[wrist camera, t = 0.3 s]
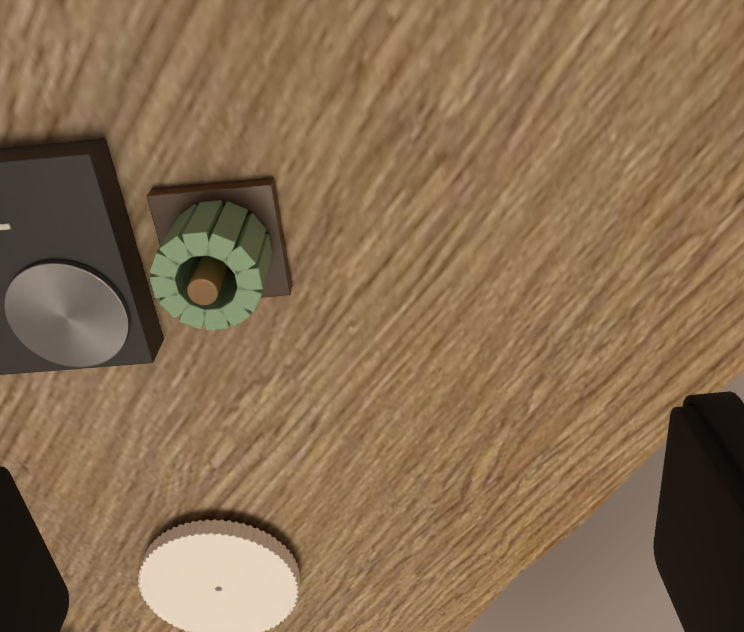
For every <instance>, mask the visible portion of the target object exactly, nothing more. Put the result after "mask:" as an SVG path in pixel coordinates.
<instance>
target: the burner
mask: <svg viewBox="0 0 744 632" xmlns="http://www.w3.org/2000/svg"><path fill="white" fill-rule="evenodd" d="M4 309H5V314H6V318H7V321H8V323H9V325H10V327H11V329H12V331H13V332H14V334H15V335H16V336H17V338H18V339H19V340H20V341H21V342H22V343H23V344H24V345H25V346H26V347H27V348H28V349H30V350H31V351H32V352H34V353H35V354H37V355H38V356H40V357H42V358H44V359H46V360H48V361H51V362H53V363H57V364H60V365H64V366H70V367H89V366H94V365H98V364H101V363H103V362H106V361H107V360H109V359H111V358H112V357H114V356H115V355H116V354H117V353H118V352H119V351H120V350H121V349H122V347H123V345H124V344H125V342H126V340H127V338H128V335H129V332H130V326H131V319H130V313H129V308H128V306H127V303H126V301H125V299H124V297H123V296H122V294H121V293H120V291H119V290H118V289H117V287H116V286H115V285H114V284H113V283H112V282H111V281H110V280H109V279H107V278H106V277H105V276H103V275H102V274H101V273H99V272H98V271H96V270H94V269H92V268H90V267H88V266H86V265H83V264H80V263H77V262H73V261H68V260H46V261H41V262H37V263H34V264H32V265H30V266H28V267H26V268H25V269H23V270H22V271H21V272H20V273H18V274H17V275H16V277H15V278H14V279H13V280H12V281H11V283H10V284H9V286H8V288H7V291H6V294H5V300H4Z"/></svg>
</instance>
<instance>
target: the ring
mask: <svg viewBox="0 0 744 632" xmlns="http://www.w3.org/2000/svg"><path fill="white" fill-rule="evenodd" d="M247 212H248V210H247V209H245V208H243V207H240V206H238V205H235V204H233V203H231V202H228V201H227V202H226V204H225V206H224V207H223V203H222V200H217V201H205V202H200V203H199V205H198V206H197V205H196V204H194V205H192V206H191V207H190V208H188V209H187V210H186V211H184V212H183V213H182V214H180V215H179V216H178V218H177V220H175V222H174V224H173V225H172V227H171V229H170V230H169V232H168V234H167V235H166V237H165V239H164V240H163V242H162V244H161V245H160V247H159V249H158V250H157V252H156V254H155V257H154V260H153V263H152V266H151V269H150V273H152V274H151V276H150V281H151V284H152V288H153V291H154V295H155V298H160V300H159V304H160V305H161V306H162V307H163V308H164V309H165V310H166V311H167V312H168V313H169V314H170V315H171V316H172V317H173V318H176V317H177V316H179V315H180V314H181V317H180V320H179V322H182V323H184V324H187V325H190V326H192V327H195V328H198V329H202V326H203V324H204V323H205V327H206V330H217V329H228V328H229V325H230V324H231V325H232V326H233V327H234V326H236V325H237V324H239V323H240V322H242V321H244V320H245V319H247V318H248V317H250V316H251V313H252V311H253V312H254V311H255V309H256V307H257V305H258V303H259V300H260V298H261V296H262V293H263V289H264V285H265V282H266V278H267V274H268V270H269V267H270V263H271V259H272V258H271V256H272V248H271V242H270V237H269V234H265V233H266V228H265V227H264V226H263V224H262V223H261V222H260V221H259V220H258V219H257V217H256V216H255V215H254V214H253V213H251V214H250V215H248V216H247V217H246V215H247ZM245 217H246V218H245ZM207 255H209V256H211V257H214V258H216V259H219V260H221V261H224V262H225V264H226V265H227V266H228V267H229V268H230V269H231V270H232V271H233V272H227V273H226V276H225V279H224V281H223V284H222V287H221V289H220V292H219V294H218V297H217V299H216V301H215V302H213V303H212V304H209V305H199V304H197V303H195V302H193V301H192V300H191V299H190V297H189V295H188V292H187V288H188V285H189V283H190V281H191V278H192V276H193V274H194V272H195V270H196V268H197V266H198V263H199V260H198V259H197V258H196V256H207Z"/></svg>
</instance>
